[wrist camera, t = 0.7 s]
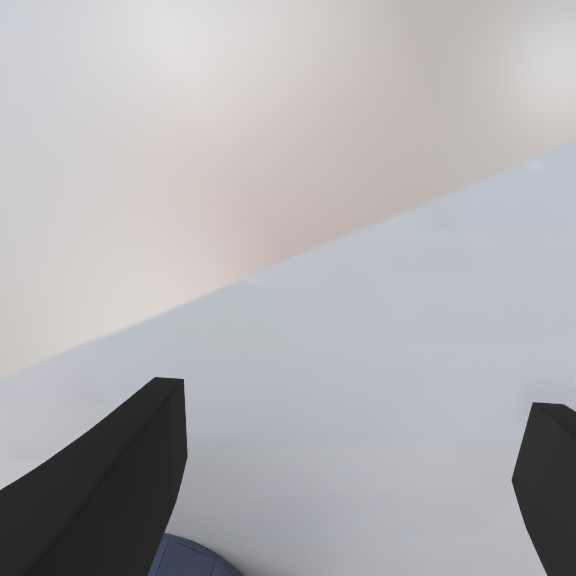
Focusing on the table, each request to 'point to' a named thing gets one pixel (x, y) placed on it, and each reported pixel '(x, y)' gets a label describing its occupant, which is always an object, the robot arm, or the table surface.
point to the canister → (187, 560)
